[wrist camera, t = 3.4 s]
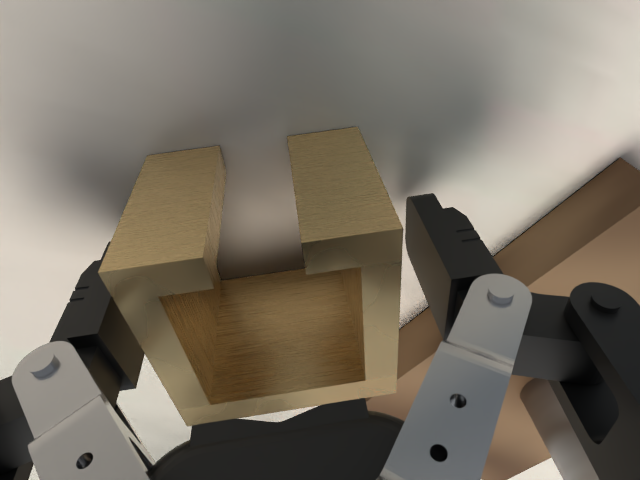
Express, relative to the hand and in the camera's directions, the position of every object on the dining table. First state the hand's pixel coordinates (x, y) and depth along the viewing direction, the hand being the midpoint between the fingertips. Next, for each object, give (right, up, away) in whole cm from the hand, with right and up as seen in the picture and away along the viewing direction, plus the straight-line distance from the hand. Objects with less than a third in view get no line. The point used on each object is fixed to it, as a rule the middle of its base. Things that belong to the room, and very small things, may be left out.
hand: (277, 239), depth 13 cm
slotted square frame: (0, +1, +2) cm, 2 cm away
